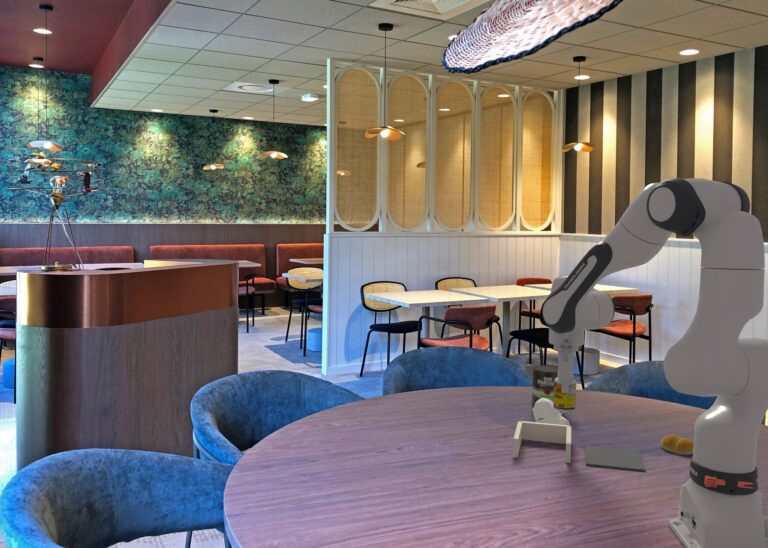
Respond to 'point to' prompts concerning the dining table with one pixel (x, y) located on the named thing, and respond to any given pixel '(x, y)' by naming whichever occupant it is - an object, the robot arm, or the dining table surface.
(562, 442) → the beige u-shaped bracket
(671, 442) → the bread roll
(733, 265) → the robot arm
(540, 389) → the coffee can
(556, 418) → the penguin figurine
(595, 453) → the mat
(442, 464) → the dining table surface
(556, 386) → the supplement bottle
